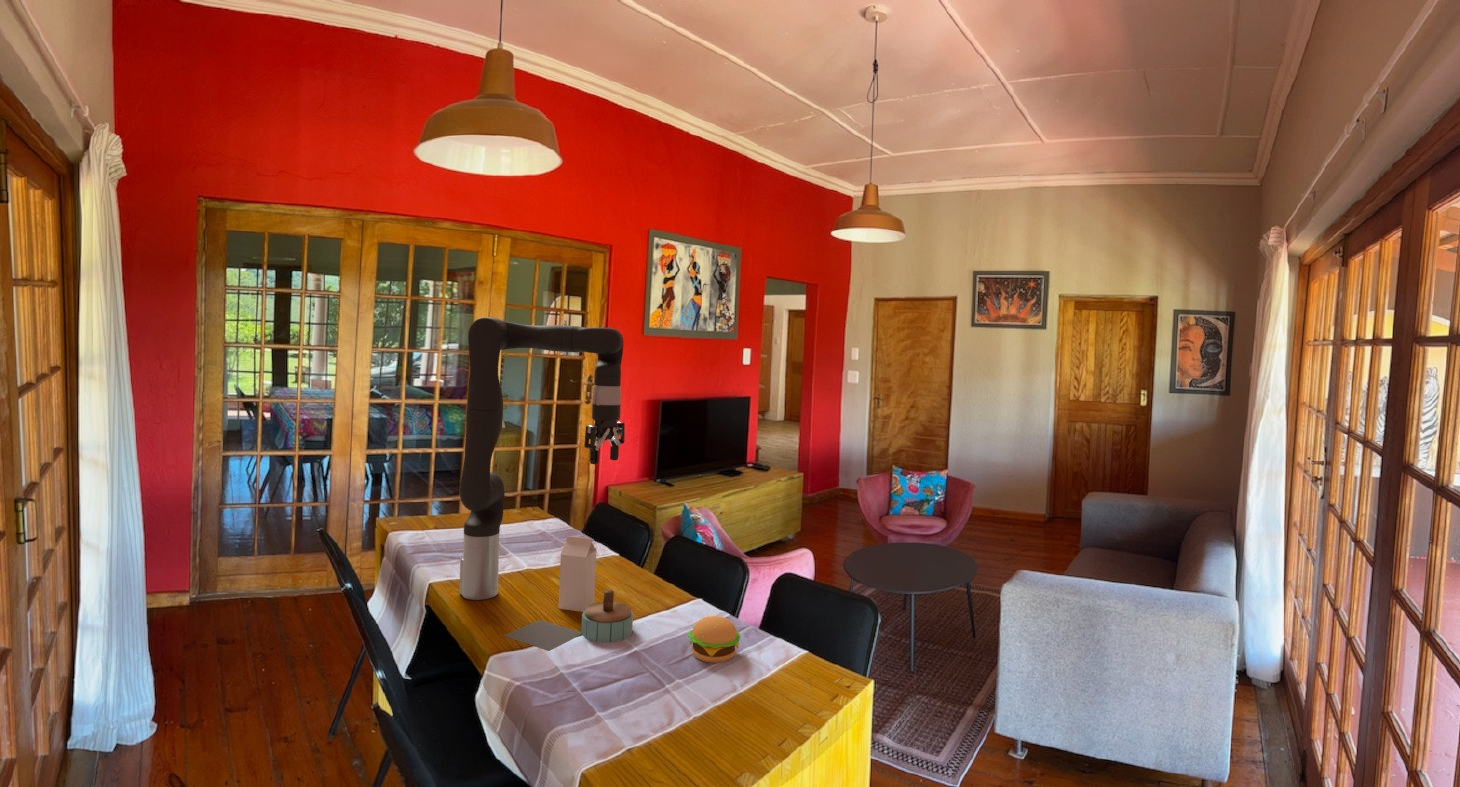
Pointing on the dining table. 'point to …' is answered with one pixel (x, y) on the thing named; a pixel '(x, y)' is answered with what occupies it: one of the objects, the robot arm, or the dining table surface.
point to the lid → (608, 610)
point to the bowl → (606, 629)
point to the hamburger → (714, 639)
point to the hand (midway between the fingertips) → (604, 462)
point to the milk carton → (577, 574)
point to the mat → (543, 635)
